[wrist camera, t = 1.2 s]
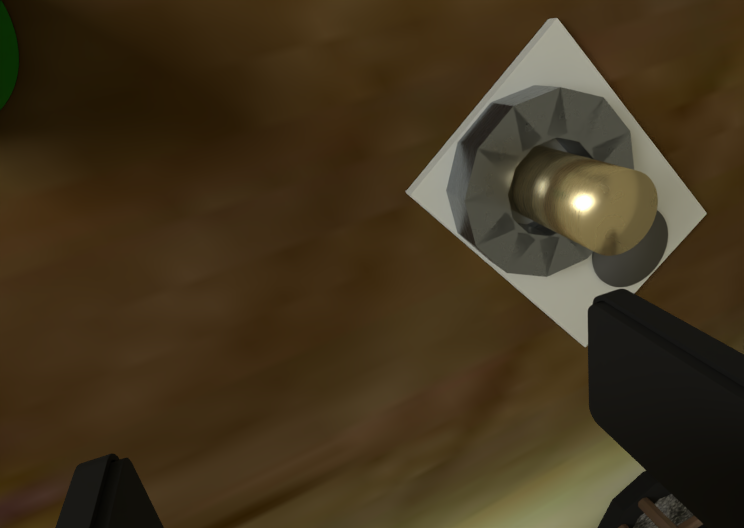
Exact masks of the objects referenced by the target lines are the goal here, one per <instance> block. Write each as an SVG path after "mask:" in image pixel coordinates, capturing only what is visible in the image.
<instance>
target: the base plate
mask: <svg viewBox="0 0 744 528" xmlns="http://www.w3.org/2000/svg"><path fill="white" fill-rule="evenodd" d="M533 85H540V86H553V87H562V88H567V89H571V90H575V91H579V92H583V93H588V94H592V95H596V96H600V97H604V98H605V99H606V101H607V102H608V103H609V105H610V106H611V107H612V108H613V110H614V111H615V112H616V114H617V115H618V116H619V117H620V119H621V120H622V121H623V122H624V124H625V125H626V126H627V128H628V129H629V130H630V133H631V143H632V153H633V162H634V170H636V171H640V172H642V173H644V174H646V175H647V176H648V177H649V178H650V179H651V180H652V182H653V183H654V185H655V187H656V191H657V196H658V206H657V212H656V216H655V219H654V221H653V224H652V226H651V228H650V229H649V231H648V232H647V234H646V235H645V236H644V238H643V239H642V240H641V241H640V242H639V243H638V244H637V245H635V246H634V247H633V248H631V249H630V250H628V251H626V252H624V253H621V254H618V255H613V256H605V255H601V254H598V253H596V252H593V253H592V254H591V255H590V256H589V257H588V258H587V259H585V260H583V261H581V262H579V263H577V264H574V265H572V266H570V267H568V268H566V269H563V270H561V271H559V272H557V273H554V274H552V275H550V276H548V277H543V276H532V275H522V274H512V273H506V272H505V271H503V270H502V269H500V268H499V267H498V266H496V265H495V264H494V263H492V262H491V261H490V260H488V259H487V258H486V257H484V256H483V255H482V254H481V253H480V252H479V251H478V250H476V249H475V248H474V247H473V246H472V245H471V244H470V243H468V242H467V241H466V240H465V239H464V238H463V237H462V236H460V235H459V234H458V233H457V229H456V225H455V222H454V218H453V214H452V211H451V207H450V203H449V200H448V196H447V192H446V189H447V185H448V181H449V176H450V172H451V168H452V164H453V160H454V156H455V151H456V147H457V143H458V141H459V140H460V139H461V138H462V136H463V135H464V134H465V133H466V132H467V130H468V129H469V128H470V127H471V126H472V124H473V123H474V122H475V121H476V120H477V118H478V117H479V116H480V115H481V113H482V112H483V111H484V110H485V109H486V107H487V106H488V105H489V104H490V103H491V102H493V101H496V100H498V99H501V98H503V97H506V96H508V95H511V94H513V93H516V92H518V91H521V90H523V89H526V88H528V87H531V86H533ZM540 145H541V146H545V147H549V148H552V149H556V150H560V151H564V152H567V151H566V150H565V149H564V148H563V147H562V145H561V144H560V143H559V142H558V141H557V140H556V139H555V138H554V139H552V140H549V141H547V142H545V143H542V144H540ZM406 193H407V194H408V195H409V196H410V197H411V198H412V199H414V200H415V201H416V202H417V203H418V204H419V205H421V206H422V207H423V208H424V209H425V210H426V211H428V212H429V213H430V214H431V215H432V216H433V217H434V218H436V219H437V220H438V221H439V222H440V223H441V224H443V225H444V226H445V227H446V228H447V229H448V230H449V231H451V232H452V233H453V234H454V235H455V236H456V237H458V238H459V239H460V240H461V241H462V242H463V243H464V244H466V245H467V246H468V247H469V248H470V249H471V250H473V251H474V252H475V253H476V254H477V255H478V256H479V257H481V258H482V259H483V260H484V261H485V262H486V263H488V264H489V265H490V266H491V267H492V268H493V269H495V270H496V271H497V272H498V273H499V274H500V275H501V276H503V277H504V278H505V279H506V280H507V281H508V282H510V283H511V284H512V285H513V286H514V287H515V288H516V289H518V290H519V291H520V292H521V293H522V294H523V295H525V296H526V297H527V298H528V299H529V300H530V301H531V302H533V303H534V304H535V305H536V306H537V307H538V308H540V309H541V310H542V311H543V312H544V313H545V314H546V315H548V316H549V317H550V318H551V319H552V320H553V321H555V322H556V323H557V324H558V325H559V326H560V327H561V328H563V329H564V330H565V331H566V332H567V333H568V334H570V335H571V336H572V337H573V338H574V339H575V340H577V341H578V342H579V343H580V344H581V345H583V346H584V347H586V346H587V345H588V308H589V307H590V306H591V305H592V304H593V300H594V298H595V297H597V296H599V295H602V294H605V293H608V292H611V291H614V290H617V289H626V290H628V291H630V292H632V293H635V292H636V291H637V290H638V289H639V288H640V287H641V286H642V284H643V283H644V282H645V281H646V280H647V279H648V278H649V277H650V276H651V275H652V273H653V272H654V271H655V270H656V269H657V268H658V267H659V266H660V265H661V264H662V262H663V261H664V260H665V259H666V258H667V257H668V256H669V255H670V254H671V253H672V251H673V250H674V249H675V248H676V247H677V246H678V245H679V244H680V243H681V242H682V240H683V239H684V238H685V237H686V236H687V235H688V234H689V233H690V232H691V231H692V230H693V228H694V227H695V226H696V225H697V224H698V223H699V222H700V221H701V220H702V219H703V217H704V216H705V215H706V214H707V213H706V212H705V210H704V209H703V208H702V206H701V205H700V204H699V202H698V201H697V200H696V198H695V197H694V196H693V195H692V193H691V192H690V191H689V189H688V188H687V187H686V185H685V184H684V183H683V182H682V180H681V179H680V178H679V176H678V175H677V174H676V172H675V171H674V170H673V168H672V167H671V166H670V165H669V163H668V162H667V161H666V159H665V158H664V157H663V155H662V154H661V153H660V151H659V150H658V149H657V148H656V146H655V145H654V144H653V142H652V141H651V140H650V138H649V137H648V136H647V134H646V133H645V132H644V131H643V129H642V128H641V127H640V125H639V124H638V123H637V121H636V120H635V119H634V117H633V116H632V115H631V114H630V112H629V111H628V110H627V108H626V107H625V106H624V104H623V103H622V102H621V101H620V99H619V98H618V97H617V95H616V94H615V93H614V91H613V90H612V89H611V87H610V86H609V85H608V84H607V82H606V81H605V80H604V78H603V77H602V76H601V74H600V73H599V72H598V70H597V69H596V68H595V67H594V65H593V64H592V63H591V61H590V60H589V59H588V57H587V56H586V55H585V53H584V52H583V51H582V50H581V48H580V47H579V46H578V44H577V43H576V42H575V40H574V39H573V38H572V37H571V35H570V34H569V33H568V31H567V30H566V29H565V27H564V26H563V25H562V23H561V22H560V21H559V20H558V18H552V19H548V20H547V21H546V23H545V24H544V25H543V26H542V27H541V29H540V30H539V31H538V32H537V33H536V35H535V36H534V37H533V38H532V40H531V41H530V42H529V43H528V44H527V46H526V47H525V48H524V49H523V50H522V52H521V53H520V54H519V55H518V56H517V58H516V59H515V60H514V61H513V62H512V64H511V65H510V66H509V67H508V69H507V70H506V71H505V72H504V73H503V75H502V76H501V77H500V78H499V79H498V81H497V82H496V83H495V84H494V85H493V87H492V88H491V89H490V90H489V92H488V93H487V94H486V95H485V96H484V98H483V99H482V100H481V101H480V102H479V104H478V105H477V106H476V107H475V108H474V110H473V111H472V112H471V113H470V114H469V116H468V117H467V118H466V119H465V121H464V122H463V123H462V124H461V125H460V127H459V128H458V129H457V130H456V131H455V133H454V134H453V135H452V136H451V137H450V139H449V140H448V141H447V142H446V144H445V145H444V146H443V147H442V148H441V150H440V151H439V152H438V153H437V154H436V156H435V157H434V158H433V159H432V160H431V162H430V163H429V164H428V165H427V166H426V168H425V169H424V170H423V171H422V173H421V174H420V175H419V176H418V177H417V179H416V180H415V181H414V182H413V183H412V185H411V186H410V187H409V188H408V189H407V191H406ZM511 212H512V217H513V219H514V220H515V221H516V222H517V223H521V224H529V223H531V222H533V220H531V219H529V218H527V217H525V216H523V215H521V214H519V213H517V212H515V211H513V210H511Z"/></svg>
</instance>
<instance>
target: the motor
mask: <svg viewBox="0 0 744 528" xmlns="http://www.w3.org/2000/svg"><path fill="white" fill-rule="evenodd" d="M18 68H19V50H18V43H17V38H16V34H15V30H14V27H13V24H12V21H11V19H10V16H9V14H8V12H7V10H6V8H5V6H4V4H3V2H2V1H1V0H0V110H1V109H2V108H3V106H4V105H5V104H6V102H7V101H8V99H9V97H10V95H11V93H12V91H13V89H14V86H15V83H16V80H17V75H18Z"/></svg>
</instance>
